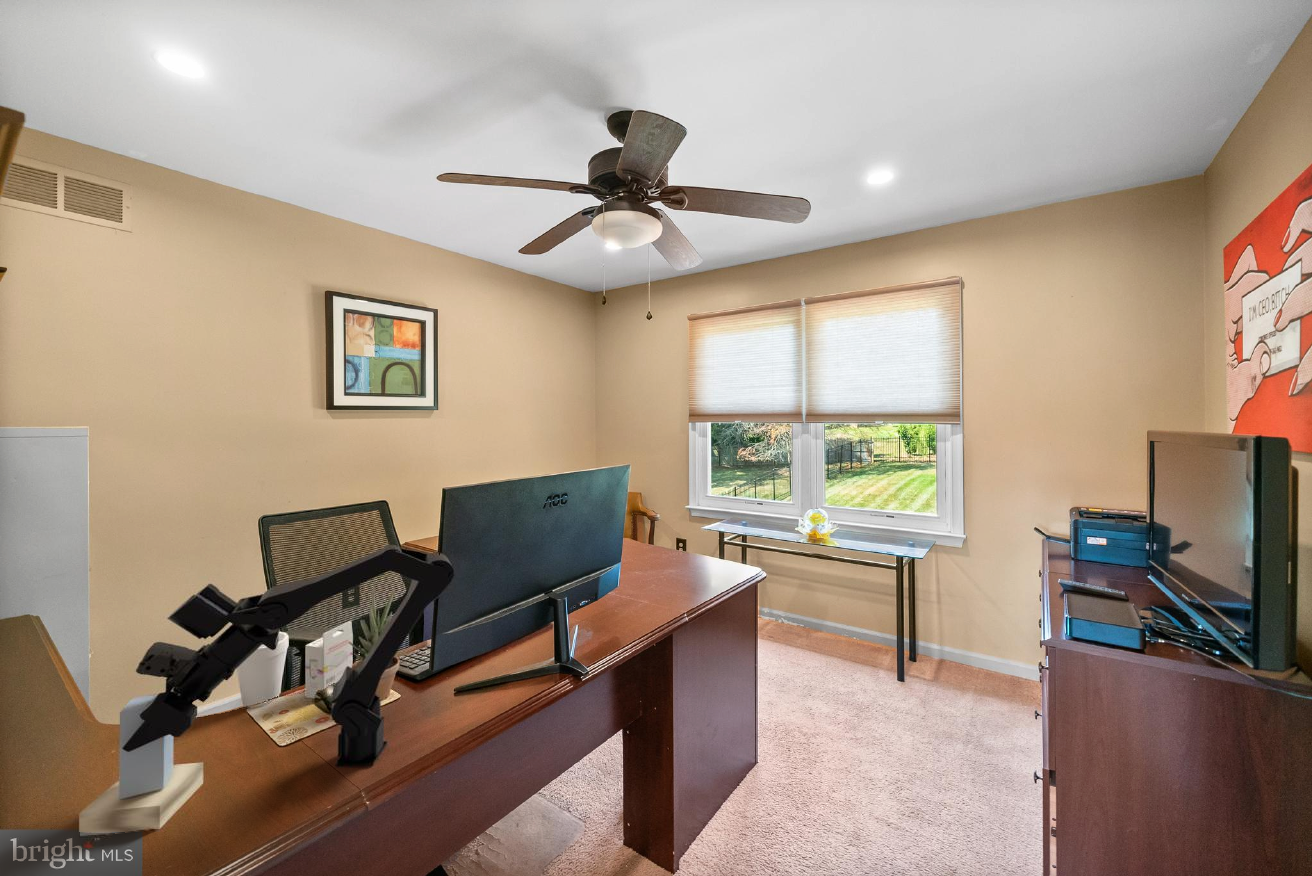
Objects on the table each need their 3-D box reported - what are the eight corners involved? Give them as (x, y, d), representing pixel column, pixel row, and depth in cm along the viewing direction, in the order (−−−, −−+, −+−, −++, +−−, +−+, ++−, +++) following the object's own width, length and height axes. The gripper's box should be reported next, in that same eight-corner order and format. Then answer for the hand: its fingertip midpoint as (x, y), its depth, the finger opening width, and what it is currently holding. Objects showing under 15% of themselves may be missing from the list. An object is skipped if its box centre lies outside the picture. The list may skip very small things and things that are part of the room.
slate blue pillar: (173, 770, 85) (173, 690, 85) (163, 788, 81) (164, 704, 81) (131, 780, 83) (132, 698, 83) (119, 799, 79) (119, 712, 79)
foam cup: (296, 687, 119) (297, 631, 118) (273, 709, 110) (273, 648, 109) (249, 689, 117) (250, 632, 117) (222, 712, 108) (223, 650, 108)
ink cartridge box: (334, 679, 123) (335, 617, 123) (353, 681, 122) (354, 619, 122) (303, 697, 115) (304, 631, 114) (322, 700, 114) (324, 634, 113)
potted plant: (396, 681, 123) (398, 577, 122) (401, 700, 115) (403, 589, 114) (346, 691, 118) (348, 583, 117) (348, 712, 110) (350, 596, 109)
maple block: (203, 785, 88) (203, 762, 88) (159, 831, 78) (159, 805, 78) (132, 791, 86) (132, 768, 86) (79, 840, 76) (79, 813, 76)
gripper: (196, 606, 91) (109, 681, 86) (159, 648, 75) (49, 745, 70) (252, 642, 95) (172, 717, 90) (229, 690, 79) (129, 784, 74)
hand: (134, 737), depth 81 cm, fingers open, 6 cm apart
